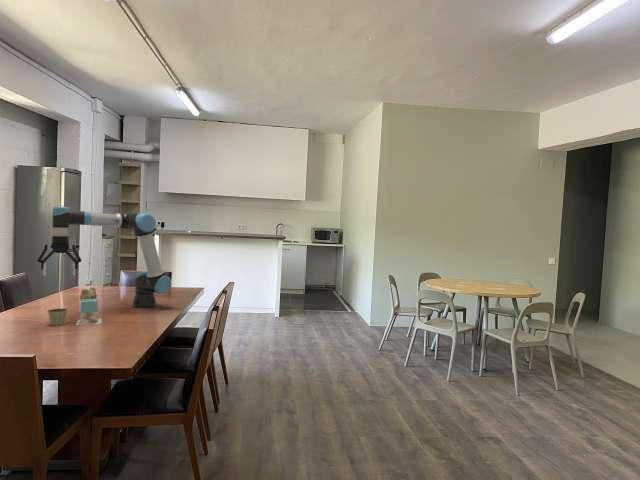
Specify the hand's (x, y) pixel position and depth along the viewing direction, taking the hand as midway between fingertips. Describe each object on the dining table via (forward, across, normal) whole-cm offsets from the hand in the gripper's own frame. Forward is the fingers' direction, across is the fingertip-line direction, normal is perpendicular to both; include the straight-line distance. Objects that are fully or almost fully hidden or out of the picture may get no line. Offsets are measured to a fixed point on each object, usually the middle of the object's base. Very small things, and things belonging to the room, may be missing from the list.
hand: (59, 275), depth 236 cm
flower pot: (+28, 0, 0) cm, 28 cm away
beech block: (+26, -15, -2) cm, 30 cm away
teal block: (+20, -14, -2) cm, 25 cm away
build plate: (+27, -15, -2) cm, 31 cm away
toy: (+27, -13, -33) cm, 45 cm away
